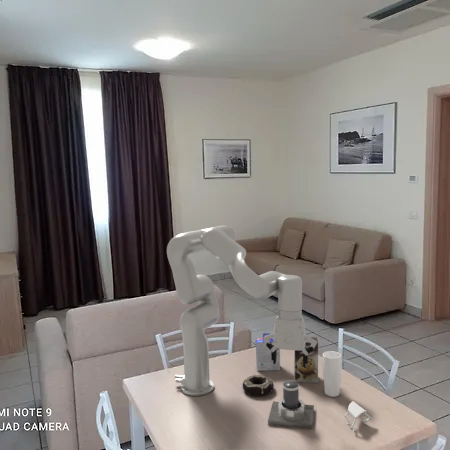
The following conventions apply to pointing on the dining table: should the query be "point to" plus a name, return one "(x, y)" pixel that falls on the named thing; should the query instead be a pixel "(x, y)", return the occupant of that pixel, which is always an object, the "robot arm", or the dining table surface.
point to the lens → (290, 394)
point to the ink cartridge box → (266, 356)
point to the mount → (291, 415)
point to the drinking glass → (332, 372)
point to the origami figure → (356, 413)
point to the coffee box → (306, 365)
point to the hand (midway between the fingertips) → (289, 363)
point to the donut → (258, 385)
